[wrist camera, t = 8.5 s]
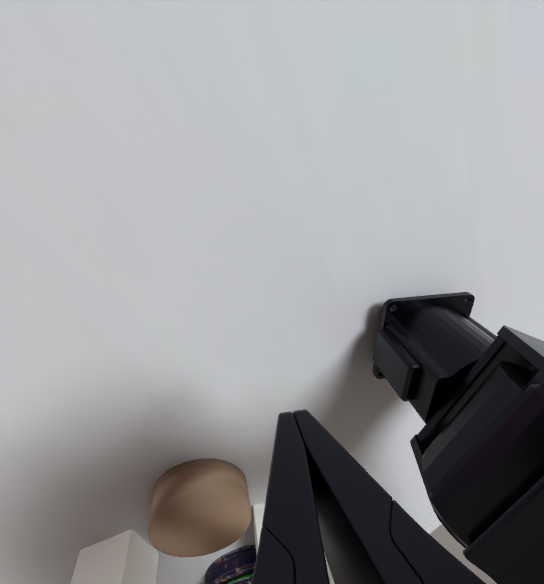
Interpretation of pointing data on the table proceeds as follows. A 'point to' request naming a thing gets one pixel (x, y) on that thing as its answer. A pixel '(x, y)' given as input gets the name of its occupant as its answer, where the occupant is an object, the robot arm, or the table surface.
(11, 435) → the table surface
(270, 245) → the table surface
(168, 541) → the beige rounded disc
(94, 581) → the marked cube
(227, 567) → the storage jar
